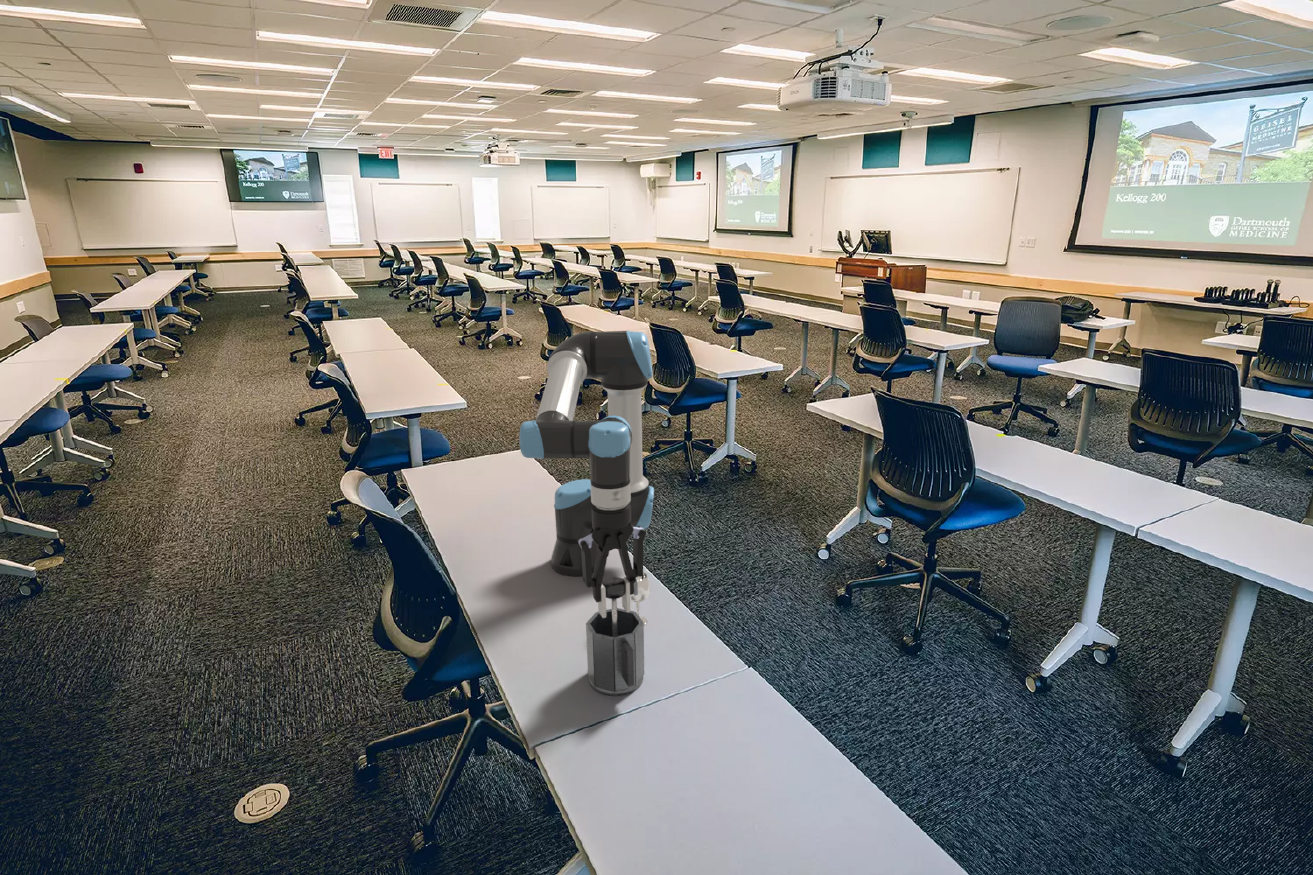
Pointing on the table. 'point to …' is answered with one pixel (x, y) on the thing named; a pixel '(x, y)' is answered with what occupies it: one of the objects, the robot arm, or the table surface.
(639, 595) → the wineglass
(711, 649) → the table surface
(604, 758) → the table surface
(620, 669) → the octagonal container
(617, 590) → the plunger
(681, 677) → the table surface
